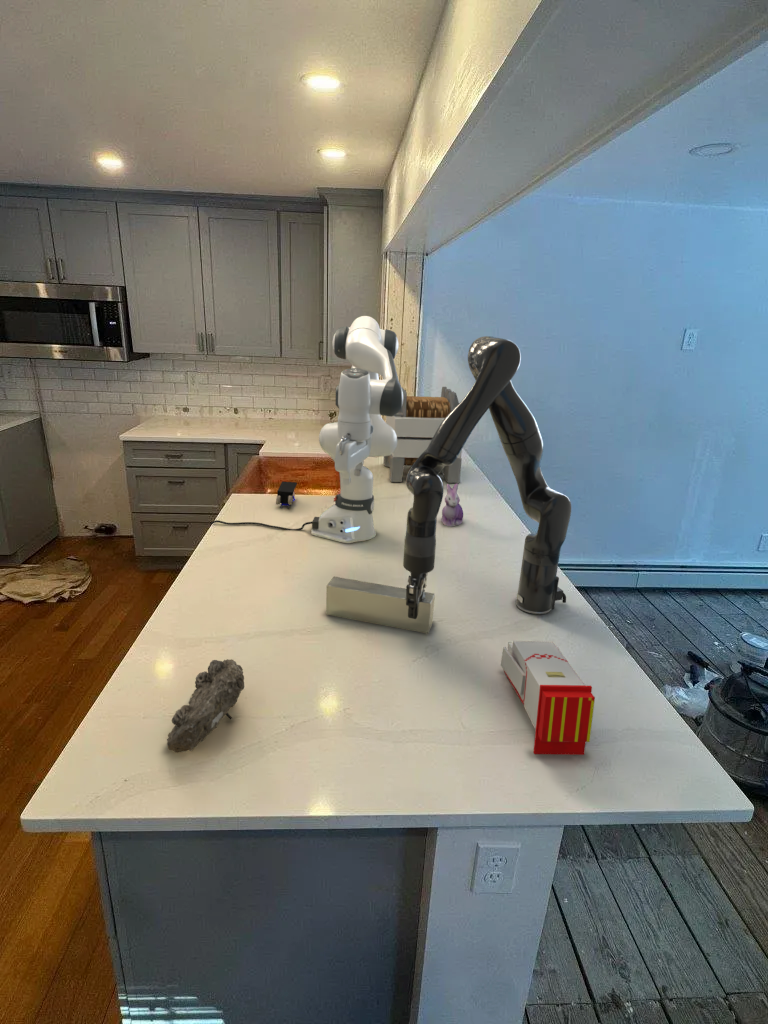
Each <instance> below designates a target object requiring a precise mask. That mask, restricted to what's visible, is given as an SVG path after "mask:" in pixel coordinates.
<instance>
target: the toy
mask: <svg viewBox="0 0 768 1024" xmlns="http://www.w3.org/2000/svg"><path fill="white" fill-rule="evenodd" d="M500 666H501V668H502V669H503V672H504V674H505V676H506V678H507V679H508V681H509V683H510V685H511V686H512V688H513V690H514V691H515V693H516V695H517V697H518V698H519V701H520V702H521V703H522V705H523V707H524V710H525V712H526V714H527V716H528V718H529V720H530V722H531V724H532V725H533V728H534V730H535V731H534V743H533V755H566V756H567V755H569V756H570V755H571V756H572V755H573V756H584V755H585V752H586V751H585V750H586V743H590V741H591V734H592V732H591V731H592V725H593V716H594V710H595V709H594V708H595V699H596V697H595V696H594V694H593V693H592V692H593V687H592V685H587V684H585V681H583V679H581V677H580V676H579V674H578V673H577V672H576V670H575V669H574V667H573V666H572V664H570V662H569V660H568V659H567V658H566V656H564V654H563V653H562V651H561V650H560V648H559V646H557V645H556V643H555V642H554V641H545V640H544V641H543V640H542V641H540V640H537V641H536V640H512V641H509V642H507V647H506V646H503V647H502V653H501V660H500Z"/></svg>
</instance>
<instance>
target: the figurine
mask: <svg viewBox="0 0 768 1024" xmlns="http://www.w3.org/2000/svg"><path fill="white" fill-rule="evenodd" d="M445 487H446V495H445V497H444V502H445V505H444V506H443V507H442V510H441V519H440V522H441V523H442V524H443V525H444V526H447V527H454V526H459V525H461V524H462V523H463V519H464V511H463V508H462V505H461V504H460V501H461V499H460V496H459V494H458V489H459V483H454V485H453V487H451V485H450V483H447V484H446V486H445Z"/></svg>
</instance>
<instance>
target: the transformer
mask: <svg viewBox="0 0 768 1024" xmlns="http://www.w3.org/2000/svg"><path fill="white" fill-rule="evenodd" d="M401 388H402V391H403V405H402V408H401V410H400V411H399V412H398V413H396V414H395V415H394V416H392V417H391V416H385V422H386V423H387V424H388V425H389V426H391V427H392V428H393V429H394V431H395V433H396V435H397V446H396V449H395V450H394V452H393V453H392V454H391V455H390V456H383V466H384V467H388V468H389V475H388V476H389V477H388V478H389V480H390V482H391V483H402V482H403V475H404V469H405V466H406V467H407V466H411V467H412V465H413V464H414V463H415V461H416V460H417V459H418V458H419V457H420V455H421V454H422V453H423V452H424V451H425V450H426V449H427V448H428V446H429V444H430V442H431V440H432V438H433V436H434V435H435V433H436V431H437V429H438V428H439V426H440V424H441V423H442V421H443V420H444V419H445V417H446V416H447V415H448V414H449V413H450V412H451V411H452V410H453V409H454V408H455V407H456V406H457V405H458V404H459V403H460V402H459V398H458V395H457V392H455V391H453V390H452V389H451V388H447V386H442V387H441V392H440V393H441V394H440V396H415V395H414V396H413V395H412V396H411V395H407V394H408V393H407V390H406V389H404V388H403V387H402V386H401ZM462 453H463V449H462V450H461V451H460V453H459V455H458V457H457V458H456V460H455V461H454V463H453V464H452V465H450V466H445V467H444V468H443V469H442V470H441V472H440V474H441V475H443V478H444V479H445V481H446V482H447V484H456V483H457V484H459V483H461V472H462V461H463V460H462Z"/></svg>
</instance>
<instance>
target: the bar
mask: <svg viewBox="0 0 768 1024" xmlns="http://www.w3.org/2000/svg"><path fill="white" fill-rule="evenodd" d="M325 586H326V588H325V589H326V598H325V600H326V601H325V602H326V603H325V610H326V611H325V615H327V616H332V617H338V618H342V619H348V620H354V621H358V622H364V623H369V624H374V625H380V626H385V627H391V628H396V629H401V630H407V631H410V632H411V631H412V632H416V633H422V634H429V633H430V630H431V628H432V625H433V622H434V609H435V598H436V593H434V592H427V591H425V592H422V595H421V596H420V597H419V605H418V614H417V618H416V619H412V618H409V617H408V608H409V606H407V605H406V587H405V588H404V587H398V586H392V585H386V584H380V583H375V582H369V581H362V580H358V579H357V580H356V579H352V578H344V577H339V576H333V577H332V578H331V580H329V582H328V583H327V584H326V585H325ZM417 593H419V591H417ZM411 600H413V599H411Z"/></svg>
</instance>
